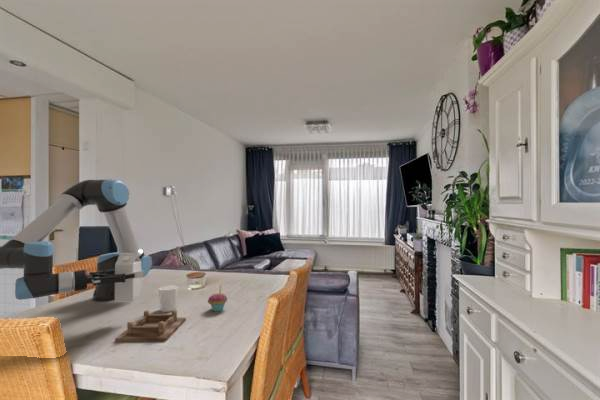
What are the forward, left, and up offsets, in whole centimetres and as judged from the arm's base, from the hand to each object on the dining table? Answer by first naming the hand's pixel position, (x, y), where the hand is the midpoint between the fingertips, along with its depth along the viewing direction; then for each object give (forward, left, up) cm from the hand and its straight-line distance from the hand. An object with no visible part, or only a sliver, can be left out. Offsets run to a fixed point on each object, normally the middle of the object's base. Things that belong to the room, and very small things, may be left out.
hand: (140, 271), depth 121 cm
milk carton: (+3, -3, -11) cm, 12 cm away
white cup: (-10, +8, -20) cm, 24 cm away
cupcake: (-9, +31, -20) cm, 38 cm away
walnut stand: (+12, +12, -20) cm, 26 cm away
